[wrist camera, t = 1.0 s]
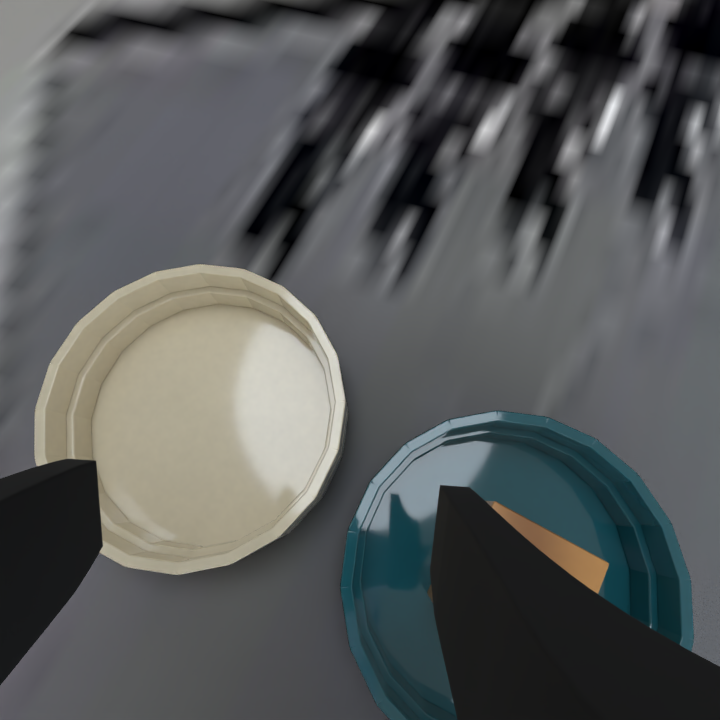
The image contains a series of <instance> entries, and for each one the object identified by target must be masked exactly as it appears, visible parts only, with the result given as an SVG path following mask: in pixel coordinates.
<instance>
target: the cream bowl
mask: <svg viewBox="0 0 720 720" xmlns="http://www.w3.org/2000/svg"><path fill="white" fill-rule="evenodd" d="M50 363H51V364H49V367H48V370H47V373H46V376H45V379H44V383H43V386H42V389H41V392H40V395H39V398H38V401H37V404H36V407H35V450H34V457H35V461H36V464H37V466H41V465H44V464H47V463H51V462H55V461H59V460H63V459H80V460H95V461H96V464H97V477H98V489H99V502H100V514H101V527H102V540H103V547H102V549H101V550H100V552H99V553H101V554H103V555H104V556H106V557H108V558H110V559H112V560H113V561H115V562H117V563H119V564H120V565H122V566H124V567H127V568H133V569H140V570H146V571H153V572H160V573H166V574H173V575H180V574H186V573H191V572H196V571H201V570H206V569H212V568H217V567H222V566H227V565H230V564H233V563H235V562H237V561H239V560H241V559H243V558H245V557H247V556H249V555H251V554H253V553H255V552H257V551H258V550H260V549H262V548H264V547H266V546H267V545H269V544H271V543H273V542H275V541H276V540H278V539H280V538H282V537H283V536H285V535H287V534H289V533H290V532H291V531H292V530H293V529H294V528H295V527H296V526H297V525H298V524H299V523H300V522H301V521H302V520H303V519H304V517H305V516H306V515H307V514H308V513H309V512H310V511H311V510H312V509H313V508H314V507H315V506H316V505H317V504H318V502H319V501H320V500H321V499H322V497H323V496H324V494H325V492H326V490H327V488H328V486H329V484H330V482H331V480H332V478H333V476H334V474H335V472H336V469H337V467H338V465H339V463H340V461H341V459H342V455H343V451H344V444H345V437H346V429H347V422H348V413H349V411H348V405H347V400H346V394H345V388H344V383H343V377H342V372H341V368H340V363H339V359H338V356H337V353H336V351H335V349H334V348H333V346H332V344H331V342H330V340H329V339H328V337H327V335H326V333H325V331H324V329H323V328H322V326H321V324H320V322H319V320H318V319H317V317H316V316H315V315H314V314H313V313H312V312H311V311H310V310H309V309H308V308H307V307H306V306H305V305H303V304H302V303H301V302H300V301H299V300H298V299H297V298H296V297H295V296H294V295H292V294H291V293H290V292H289V291H288V290H287V289H286V288H285V287H283V286H281V285H279V284H277V283H274V282H272V281H270V280H268V279H265V278H263V277H261V276H259V275H256V274H254V273H252V272H250V271H247V270H245V269H239V268H231V267H222V266H213V265H204V264H197V265H191V266H186V267H180V268H174V269H168V270H163V271H157V272H154V273H152V274H150V275H148V276H145V277H143V278H141V279H139V280H137V281H135V282H133V283H131V284H129V285H126V286H124V287H122V288H120V289H118V290H116V291H114V292H112V293H111V294H110V295H109V296H108V297H107V298H105V299H104V300H103V301H102V302H101V303H100V304H98V305H97V306H96V307H95V308H94V309H93V310H91V311H90V312H89V313H88V314H87V315H86V316H84V317H83V318H82V319H81V320H80V321H79V322H78V324H76V325H75V326H74V328H73V329H72V331H71V332H70V334H69V335H68V337H67V338H66V340H65V341H64V343H63V344H62V346H61V347H60V349H59V350H58V352H57V353H56V355H55V356H54V358H53V359H52V361H51V362H50Z"/></svg>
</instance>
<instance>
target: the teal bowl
mask: <svg viewBox="0 0 720 720" xmlns="http://www.w3.org/2000/svg"><path fill="white" fill-rule="evenodd" d="M440 485H447V486H462V487H470V488H471V489H472V490H474V491H475V492H476V493H477V494H478V495H479V496H480V497H481V498H483V499H484V500H485V501H496V502H498V503H500V504H502V505H503V506H505V507H507V508H509V509H511V510H513V511H515V512H516V513H518V514H520V515H522V516H524V517H526V518H527V519H529V520H531V521H533V522H535V523H537V524H538V525H540V526H542V527H544V528H546V529H548V530H549V531H551V532H553V533H555V534H557V535H559V536H560V537H562V538H564V539H566V540H568V541H570V542H572V543H573V544H575V545H577V546H579V547H581V548H583V549H584V550H586V551H588V552H590V553H592V554H594V555H595V556H597V557H599V558H601V559H603V560H605V561H606V562H608V563H609V566H608V569H607V571H606V574H605V577H604V579H603V582H602V585H601V587H600V590H599V593H598V594H599V595H600V596H602V597H603V598H605V599H606V600H608V601H609V602H610V603H612V604H613V605H615V606H616V607H618V608H619V609H621V610H622V611H624V612H625V613H627V614H629V615H630V616H632V617H633V618H635V619H637V620H638V621H640V622H641V623H643V624H645V625H646V626H648V627H650V628H651V629H653V630H655V631H656V632H658V633H660V634H662V635H663V636H665V637H667V638H669V639H670V640H672V641H674V642H676V643H677V644H679V645H681V646H682V647H684V648H686V649H688V650H689V651H691V650H692V647H693V643H694V641H693V640H694V631H693V611H692V590H691V580H690V575H689V572H688V570H687V567H686V564H685V561H684V558H683V555H682V552H681V549H680V546H679V543H678V540H677V538H676V535H675V532H674V529H673V526H672V524H671V521H670V520H669V518H668V517H667V516H666V514H665V513H664V511H663V510H662V508H661V507H660V505H659V504H658V502H657V501H656V500H655V498H654V497H653V495H652V494H651V492H650V491H649V489H648V488H647V486H646V485H645V484H644V482H643V481H642V479H641V478H640V476H639V475H638V474H637V473H636V472H635V471H634V470H632V469H631V468H630V467H629V466H628V465H626V464H625V463H624V462H623V461H622V460H620V459H619V458H618V457H617V456H616V455H615V454H613V453H612V452H611V451H610V450H609V449H607V448H606V447H605V446H604V445H603V444H601V443H600V442H599V441H598V440H597V439H595V438H593V437H591V436H589V435H587V434H584V433H582V432H580V431H578V430H576V429H573V428H571V427H569V426H567V425H564V424H562V423H560V422H558V421H555V420H553V419H551V418H549V417H545V416H537V415H530V414H522V413H514V412H506V411H490V412H485V413H480V414H474V415H469V416H463V417H458V418H453V419H449V420H446V421H444V422H442V423H441V424H439V425H437V426H435V427H433V428H432V429H430V430H428V431H426V432H424V433H423V434H421V435H419V436H417V437H415V438H413V439H412V440H410V441H408V442H406V443H405V444H404V445H403V446H402V447H401V448H400V449H399V450H398V451H397V452H396V453H395V454H394V456H393V457H392V458H391V459H390V460H389V461H388V462H387V463H386V464H385V465H384V466H383V468H382V469H381V470H380V471H379V472H378V473H377V474H376V475H375V476H374V477H373V478H372V479H371V482H369V484H368V487H367V489H366V491H365V493H364V495H363V498H362V500H361V502H360V504H359V506H358V508H357V511H356V513H355V515H354V517H353V519H352V521H351V524H350V526H349V528H348V531H347V538H346V545H345V553H344V560H343V568H342V575H341V583H340V591H341V597H342V604H343V610H344V616H345V623H346V629H347V636H348V642H349V646H350V650H351V652H352V654H353V656H354V658H355V660H356V663H357V665H358V667H359V669H360V671H361V673H362V675H363V677H364V680H365V682H366V684H367V686H368V688H369V690H370V692H371V694H372V697H373V699H374V701H375V703H376V704H377V706H378V707H379V708H380V709H381V711H382V712H383V713H384V714H385V715H386V716H387V717H388V718H389V719H390V720H457V715H456V711H455V706H454V702H453V697H452V693H451V689H450V684H449V680H448V675H447V671H446V666H445V662H444V658H443V653H442V648H441V644H440V639H439V635H438V630H437V626H436V621H435V616H434V607H433V602H432V601H431V599H430V597H429V596H428V594H427V592H428V590H429V587H430V585H431V577H430V564H431V555H432V547H433V539H434V530H435V522H436V514H437V505H438V497H439V489H440Z"/></svg>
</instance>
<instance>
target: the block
mask: <svg viewBox="0 0 720 720" xmlns="http://www.w3.org/2000/svg"><path fill="white" fill-rule="evenodd" d="M486 502H487V503H488V504H489V505H490V506H491V507H492V508H493V509H494V510H495V511H496V512H498V513H499V514H500V515H501V516H502V517H503V518H504V519H505V520H506V521H507V522H508V523H509V524H511V525H512V526H513V527H514V528H515V529H516V530H517V531H518V532H520V533H521V534H522V535H523V536H524V537H525V538H526V539H527V540H529V541H530V542H531V543H532V544H533V545H534V546H536V547H537V548H538V549H539V550H540V551H542V552H543V553H544V554H545V555H546V556H548V557H549V558H550V559H552V560H553V561H554V562H555V563H557V564H558V565H559V566H560V567H562V568H563V569H564V570H566V571H567V572H568V573H569V574H571V575H572V576H573V577H575V578H576V579H577V580H579V581H580V582H581V583H583V584H584V585H586V586H587V587H588V588H590V589H591V590H593V591H594V592H596V593H597V594H598V593H599V590H600V587H601V585H602V582H603V579H604V577H605V574H606V571H607V569H608V566H609V563H608V562H606V561H605V560H603V559H601V558H599V557H597V556H595V555H594V554H592V553H590V552H588V551H586V550H584V549H583V548H581V547H579V546H577V545H575V544H573V543H572V542H570V541H568V540H566V539H564V538H562V537H560V536H559V535H557V534H555V533H553V532H551V531H549V530H548V529H546V528H544V527H542V526H540V525H538V524H537V523H535V522H533V521H531V520H529V519H527V518H526V517H524V516H522V515H520V514H518V513H516V512H515V511H513V510H511V509H509V508H507V507H505V506H503V505H502V504H500V503H498V502H496V501H486ZM427 594H428V596H429V597H430V599H431V601H432V602H433V598H432V587H431V585H430V587H429V590H428V592H427Z"/></svg>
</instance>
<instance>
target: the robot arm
mask: <svg viewBox="0 0 720 720" xmlns="http://www.w3.org/2000/svg"><path fill="white" fill-rule="evenodd" d="M102 547H103V540H102V527H101V514H100V502H99V489H98V477H97V464H96V461H95V460H80V459H63V460H59V461H55V462H51V463H47V464H44V465H41V466H37V467H34V468H31V469H28V470H25V471H22V472H19V473H16V474H13V475H10V476H7V477H5V478H2V479H0V685H1V684H2V682H3V681H4V680H5V679H6V677H7V676H8V675H9V674H10V673H11V671H12V670H13V669H14V668H15V666H16V665H17V664H18V663H19V661H20V660H21V659H22V658H23V656H24V655H25V654H26V653H27V652H28V650H29V649H30V648H31V647H32V645H33V644H34V643H35V642H36V640H37V639H38V638H39V637H40V635H41V634H42V633H43V632H44V630H45V629H46V628H47V627H48V626H49V624H50V623H51V622H52V620H53V619H54V618H55V617H56V615H57V614H58V613H59V612H60V610H61V609H62V608H63V607H64V605H65V604H66V603H67V602H68V600H69V599H70V598H71V596H72V595H73V594H74V592H75V591H76V590H77V588H78V587H79V585H80V583H81V582H82V580H83V579H84V577H85V576H86V574H87V572H88V571H89V569H90V567H91V566H92V564H93V562H94V561H95V559H96V557H97V555H98V554H99V552H100V550H101V549H102ZM430 577H431V587H432V598H433V607H434V616H435V621H436V626H437V630H438V635H439V639H440V644H441V648H442V653H443V658H444V662H445V666H446V671H447V675H448V680H449V684H450V689H451V693H452V697H453V702H454V706H455V711H456V715H457V720H720V667H719V666H717V665H715V664H713V663H712V662H710V661H708V660H706V659H704V658H702V657H700V656H698V655H697V654H695V653H693V652H691V651H689V650H688V649H686V648H684V647H682V646H681V645H679V644H677V643H676V642H674V641H672V640H670V639H669V638H667V637H665V636H663V635H662V634H660V633H658V632H656V631H655V630H653V629H651V628H650V627H648V626H646V625H645V624H643V623H641V622H640V621H638V620H637V619H635V618H633V617H632V616H630V615H629V614H627V613H625V612H624V611H622V610H621V609H619V608H618V607H616V606H615V605H613V604H612V603H610V602H609V601H608V600H606V599H605V598H603V597H602V596H600V595H599V594H597V593H596V592H594V591H593V590H591V589H590V588H588V587H587V586H586V585H584V584H583V583H581V582H580V581H579V580H577V579H576V578H575V577H573V576H572V575H571V574H569V573H568V572H567V571H566V570H564V569H563V568H562V567H560V566H559V565H558V564H557V563H555V562H554V561H553V560H552V559H550V558H549V557H548V556H546V555H545V554H544V553H543V552H542V551H540V550H539V549H538V548H537V547H536V546H534V545H533V544H532V543H531V542H530V541H529V540H527V539H526V538H525V537H524V536H523V535H522V534H521V533H520V532H518V531H517V530H516V529H515V528H514V527H513V526H512V525H511V524H509V523H508V522H507V521H506V520H505V519H504V518H503V517H502V516H501V515H500V514H499V513H498V512H496V511H495V510H494V509H493V508H492V507H491V506H490V505H489V504H488V503H487V502H486V501H485V500H484V499H483V498H481V497H480V496H479V495H478V494H477V493H476V492H475V491H474V490H472V489H471V488H470V487H462V486H447V485H440V489H439V497H438V505H437V514H436V522H435V530H434V539H433V547H432V555H431V564H430Z"/></svg>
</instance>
